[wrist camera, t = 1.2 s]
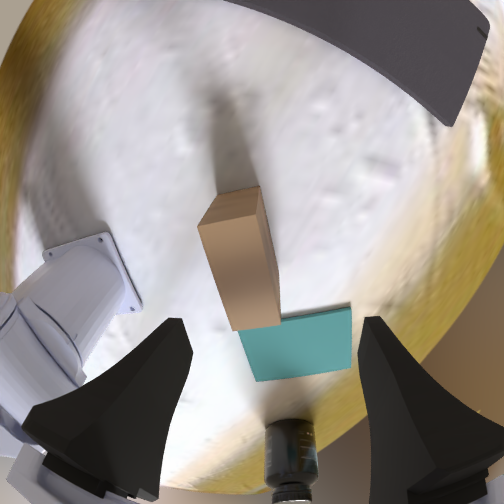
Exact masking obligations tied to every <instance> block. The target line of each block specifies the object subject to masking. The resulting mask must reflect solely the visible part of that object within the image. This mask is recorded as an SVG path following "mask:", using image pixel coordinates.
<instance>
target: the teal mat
mask: <svg viewBox="0 0 504 504" xmlns="http://www.w3.org/2000/svg"><path fill="white" fill-rule="evenodd" d="M238 333H239V336H240V339H241V342H242V344H243V347H244V350H245V353H246V356H247V358H248V361H249V364H250V366H251V369H252V372H253V375H254V377H255V380H256V382H259V381H269V380H278V379H286V378H294V377H301V376H307V375H314V374H320V373H326V372H331V371H337V370H342V369H347V368H351V350H352V311H351V307H347V308H342V309H337V310H331V311H326V312H320V313H315V314H309V315H303V316H297V317H291V318H284V319H281V325H277V326H270V327H263V328H255V329H247V330H239V331H238Z"/></svg>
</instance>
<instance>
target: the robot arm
mask: <svg viewBox="0 0 504 504" xmlns="http://www.w3.org/2000/svg"><path fill="white" fill-rule="evenodd" d="M100 238H102V240H103V241H101V239H100ZM42 256H43V259H44V261H45V263H44V264H43V265H41V266H40V267H39V268H38V269H37V270H36V271H34V272H33V273H32V274H31V275H30V276H29V277H28V278H27V279H26V280H25V281H23V282H22V283H21V284H20V285H19V286H18V287H17V288H16V289H15V290H14V291H13V292H12V293H4V292H0V456H5V457H11V458H16V460H15V462H14V464H13V466H12V468H11V470H10V472H9V474H8V476H7V479H6V480H7V482H8V483H10V484H11V485H12V486H13V487H14V488H15V489H16V490H17V491H18V492H19V493H21V494H22V495H23V496H24V497H25V498H26V499H27V500H28V501H29V502H30V503H31V504H139V503H136V502H134V501H131V500H128V499H127V496H129V497H131V498H134V499H136V497H138V498H141V499H144V500H147V501H150V502H153V501H156V500H157V499H158V498H159V485H160V475H161V467H162V461H163V455H164V449H165V444H166V440H167V435H168V431H169V427H170V423H171V420H172V417H173V414H174V411H175V408H176V406H177V403H178V400H179V398H180V395H181V393H182V390H183V387H184V385H185V382H186V379H187V376H188V374H189V370H190V366H191V361H192V356H193V350H192V347H191V344H190V341H189V339H188V336H187V333H186V330H185V327H184V324H183V320H182V318H168V319H166V320H165V321H164V322H163V323H162V324H161V325H160V326H159V327H157V328H156V329H155V330H154V331H153V332H152V333H151V334H150V335H149V336H148V337H147V338H146V339H144V340H143V341H142V342H141V343H140V344H139V345H138V346H137V347H136V348H134V349H133V350H132V351H131V352H130V353H129V354H127V355H126V356H125V357H124V358H122V359H121V360H120V361H119V362H118V363H116V364H115V365H114V366H112V367H111V368H110V369H108V370H107V371H105V372H104V373H103V374H101V375H100V376H98V377H97V378H95V379H93V380H92V381H90V382H88V383H86V384H85V385H83V384H84V382H85V380H86V378H87V376H86V375H85V373H84V372H83V370H82V368H83V366H84V364H85V363H86V361H87V359H88V358H89V356H90V354H91V353H92V351H93V349H94V348H95V346H96V345H97V343H98V341H99V340H100V338H101V337H102V335H103V333H104V332H105V330H106V329H107V327H108V326H109V324H110V322H111V321H112V319H113V318H114V316H115V315H118V314H129V313H139V312H141V311H142V309H143V306H142V304H141V302H140V300H139V298H138V296H137V294H136V292H135V290H134V287H133V285H132V283H131V281H130V279H129V277H128V275H127V272H126V270H125V268H124V266H123V263H122V261H121V259H120V257H119V254H118V252H117V249H116V247H115V245H114V242H113V240H112V237H111V235H110V234H109V233H108V232H102V233H99V234H96V235H92V236H89V237H86V238H82V239H79V240H76V241H73V242H69V243H66V244H63V245H60V246H57V247H54V248H51V249H48V250H45V251H44V252H43V253H42ZM132 307H134V308H132ZM357 354H358V364H359V373H360V379H361V384H362V389H363V394H364V398H365V403H366V408H367V413H368V418H369V425H370V436H371V487H370V498H369V504H504V474H503V475H501V476H499V477H497V478H495V479H493V480H492V481H490V482H488V483H486V482H485V478H486V477H488V475H489V473H488V467H489V466H491V465H492V464H494V463H495V462H497V461H498V460H499V459H500V458H502V457H503V456H504V427H503V426H501V425H499V424H497V423H495V422H492V421H491V420H489V419H487V418H485V417H483V416H482V415H480V414H478V413H477V412H475V411H474V410H472V409H470V408H469V407H467V406H466V405H465V404H463V403H462V402H461V401H459V400H458V399H457V398H455V397H454V396H453V395H451V394H450V393H449V392H448V391H447V390H445V389H444V388H443V387H442V386H441V385H440V384H439V383H437V382H436V381H435V380H434V379H433V378H432V377H431V376H430V375H429V374H428V373H427V372H426V371H425V370H424V369H423V368H422V366H421V365H420V364H419V363H418V362H417V361H416V360H415V359H414V358H413V357H412V355H411V354H410V353H409V352H408V351H407V349H406V348H405V347H404V346H403V345H402V343H401V342H400V341H399V340H398V338H397V337H396V336H395V335H394V333H393V332H392V331H391V330H390V328H389V327H388V326H387V324H386V323H385V322H384V321H383V319H382V318H381V317H380V316H373V317H365V319H364V324H363V329H362V334H361V339H360V344H359V348H358V353H357ZM82 385H83V386H82ZM45 451H47V452H48V453H47V455H46V456H45V455H43V454H42V453H43V452H45Z"/></svg>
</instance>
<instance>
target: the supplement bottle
mask: <svg viewBox="0 0 504 504" xmlns="http://www.w3.org/2000/svg"><path fill="white" fill-rule="evenodd" d="M317 480H318V463H317V452H316V441H315V432H314V427H313V425H312V424H311V423H309V422H307V421H304V420H299V419H288V420H281V421H278V422H275V423H273V424H271V425H270V426H269V427H268V428H267V429H266V432H265V464H264V481H265V483H266V485H267V486H268V487H270V488H272V489H274V491H273V492H272V494H271V496H272V504H309V503H311V502H312V490H311V489H310V486H312V485H313V484H314V483H315V482H316V481H317Z"/></svg>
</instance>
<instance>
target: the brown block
mask: <svg viewBox="0 0 504 504" xmlns="http://www.w3.org/2000/svg"><path fill="white" fill-rule="evenodd" d="M197 228H198V231H199V234H200V238H201V241H202V244H203V247H204V250H205V253H206V256H207V259H208V262H209V265H210V268H211V271H212V274H213V277H214V280H215V283H216V286H217V289H218V291H219V294H220V297H221V300H222V303H223V306H224V309H225V311H226V314H227V317H228V320H229V322H230V325H231V328H232V331H239V330H247V329H255V328H263V327H270V326H277V325H281V309H280V286H279V272H278V267H277V262H276V258H275V253H274V248H273V243H272V239H271V234H270V230H269V225H268V221H267V216H266V211H265V207H264V203H263V198H262V194H261V189H260V186H257V187H252V188H247V189H242V190H238V191H233V192H228V193H224V194H219V195H217V196H216V198H215V199H214V201H213V202H212V204H211V205H210V207H209V208H208V210H207V212H206V213H205V215H204V216H203V218H202V219H201V221H200V223H199V224H198V226H197Z"/></svg>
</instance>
